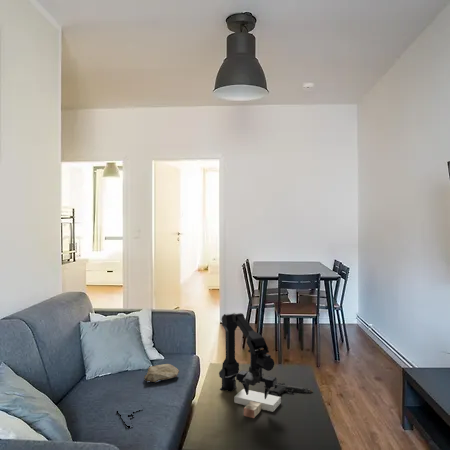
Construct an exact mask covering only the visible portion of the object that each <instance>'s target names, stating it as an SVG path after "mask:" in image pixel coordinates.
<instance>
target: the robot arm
mask: <svg viewBox="0 0 450 450" xmlns="http://www.w3.org/2000/svg"><path fill="white" fill-rule="evenodd" d="M221 325H222V327H223V329H224V331H225V358H224V360H223V362H222V366H221V367H222V368H221V369H220V370H219V372H218V376H219V378H220V379H221V387H220V389H219V390H222V391H227V392H231V393H232V392H233V391H234V390H235V389H237V381H238V382H239V383H240V384H242V386H243V389H245V392H246V395H248V392H249V390H250V389H249V387H250V386H255V385H257V383H258V384H260V382H262V383H264V386H263V387H264V388H263V389H264V394H265V396H264V397H265V399H266V398H267V395H268V394H269V390H271V389H272V388H275V385H276V384H278V379H277V377H276V376H272V375H268V376H267V377H264V373H263V370H264V371H267V372H269V371H272V370H273V368H275V361H274V359H273V358H272V357H271V354H269V353H270V351H269V347H268V345H267V343H266V340H265V338H264V337H263V336H262V335H261V334H260V333H259V332H257V331H255V330H254V329H253V327H252V326H251V324H250V323H249V322H248V321H247V319H246V318H245V315H244V313H241V312H239V313H237V312H231V313H225V314H223V315H222V316H221ZM237 328H239V329H240V331H241V333H242V334H243V335H244V337H245V338H246V344H247V347H248V348H249V349H248V350H247V351H248V353H250V354H249V355H250V357H249V358H250V359H249V360H250V362H249V363H250V364H249V365H250V366H249V368H248V371H245V370H240V362H238V361H237V358H236V331H237Z"/></svg>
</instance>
